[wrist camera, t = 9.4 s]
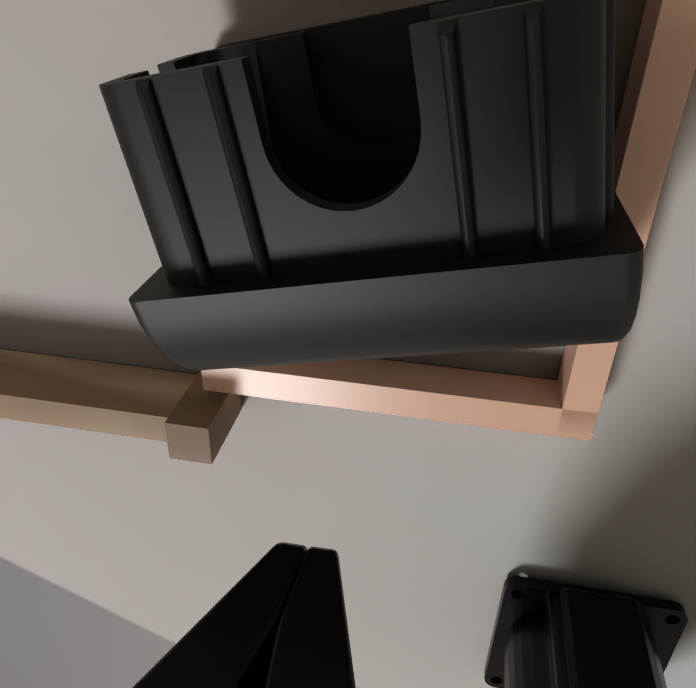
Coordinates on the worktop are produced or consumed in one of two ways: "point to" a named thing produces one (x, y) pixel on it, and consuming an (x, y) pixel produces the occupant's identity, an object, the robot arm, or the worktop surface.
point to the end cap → (384, 188)
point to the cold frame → (118, 401)
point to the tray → (578, 360)
